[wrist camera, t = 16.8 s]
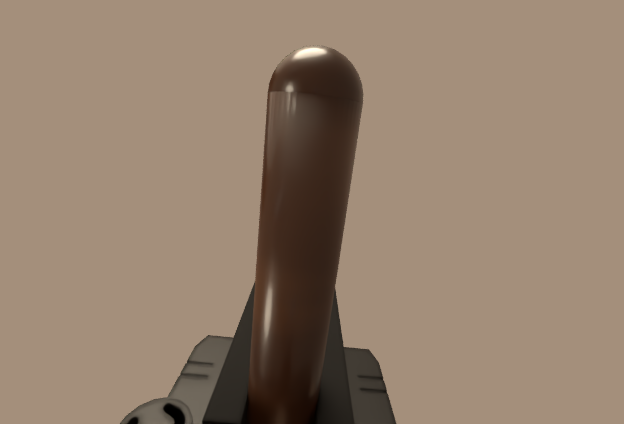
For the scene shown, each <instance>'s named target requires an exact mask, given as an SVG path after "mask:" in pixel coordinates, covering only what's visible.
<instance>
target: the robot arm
mask: <svg viewBox="0 0 624 424" xmlns="http://www.w3.org/2000/svg"><path fill="white" fill-rule="evenodd" d="M254 294H255V283H254V286H253V288H252V291H251V294H250V296H249V299H248V301H247V304H246V306H245V309H244V312H243V314H242V317H241V320H240V322H239V325H238V327H237V330H236V333H235V335H234V338H231V337H221V336H210V335H208V336H207V337H206V338H204V339H203V340H202V341H201V342H200V343H199V344H197V345H196V346H195V348H194V350H193V351H192V353H191V355H190V357H189V359H188V361H187V364H185V366H184V368H183V370H182V371H181V375H180V376H179V377H178V379H177V381H176V382H175V384H174V386H173V388H172V390H171V392H170V393H169V395H168V397H167V398H160V399H154V400H152V401H149V402H147V403H144V404H142V405H140V406H138V407H137V408H136V409H134V410H133V411H132V412H131V413H129V414H128V415H127V416H126V417H125V418H124V419H123V420H122V422H121V423H120V424H246V418H247V403H248V383H249V368H250V353H251V338H252V323H253V308H254ZM314 424H396V422H395V418H394V414H393V411H392V408H391V404H390V400H389V397H388V394H387V390H386V386H385V383H384V381H383V376H382V372H381V369H380V365H379V363H378V361H377V360H376V358H375V357H374V356H373V354H372V353H371V352H370V351H369V350H368V349H358V348H347V347H343V340H342V333H341V326H340V319H339V312H338V305H337V298H336V291H335V290H334V297H333V304H332V310H331V317H330V324H329V330H328V337H327V343H326V350H325V357H324V363H323V370H322V376H321V383H320V390H319V396H318V401H317V408H316V414H315V421H314Z"/></svg>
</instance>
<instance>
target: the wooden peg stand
mask: <svg viewBox="0 0 624 424" xmlns="http://www.w3.org/2000/svg"><path fill="white" fill-rule="evenodd" d="M362 104H363V89H362V83H361V80H360V77H359V74H358V73H357V71H356V69H355V68H354V66H353V64H352V63H351V62H350V61H349V60H348V59H347V58H346V57H345V56H344V55H342V54H341V53H339V52H338V51H336V50H334V49H331V48H328V47H325V46H306V47H303V48H300V49H297V50H295V51H293V52H292V53H290V54H289V55H287V56H286V57H285V58H284V59H283V60H282V61H281V63H280V64H279V65H278V66H277V68H276V70H275V71H274V73H273V75H272V78H271V80H270V83H269V89H268V99H267V115H266V129H265V144H264V159H263V174H262V175H263V176H262V189H261V204H260V219H259V220H260V221H259V234H258V249H257V264H256V279H255V294H254V308H253V323H252V338H251V353H250V368H249V383H248V403H247V418H246V424H314V421H315V414H316V408H317V401H318V396H319V390H320V383H321V376H322V370H323V363H324V357H325V350H326V343H327V337H328V330H329V324H330V317H331V310H332V304H333V297H334V290H335V284H336V277H337V270H338V264H339V257H340V251H341V244H342V237H343V231H344V224H345V218H346V211H347V204H348V197H349V191H350V184H351V178H352V171H353V165H354V158H355V151H356V145H357V138H358V131H359V125H360V118H361V112H362Z"/></svg>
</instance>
